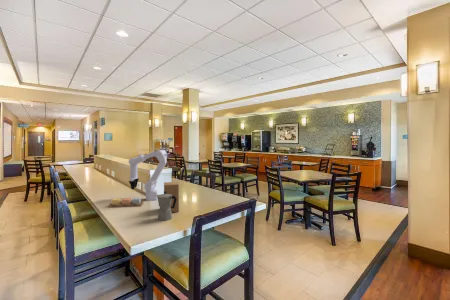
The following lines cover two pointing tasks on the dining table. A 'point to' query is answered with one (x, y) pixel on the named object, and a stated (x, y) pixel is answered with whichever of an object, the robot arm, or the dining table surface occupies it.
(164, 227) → the dining table surface
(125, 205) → the frame
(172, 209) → the wooden block
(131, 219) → the dining table surface
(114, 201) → the ochre cube
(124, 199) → the terracotta cube
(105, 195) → the dining table surface
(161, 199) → the coffeepot
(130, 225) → the dining table surface
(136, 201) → the slate cube
